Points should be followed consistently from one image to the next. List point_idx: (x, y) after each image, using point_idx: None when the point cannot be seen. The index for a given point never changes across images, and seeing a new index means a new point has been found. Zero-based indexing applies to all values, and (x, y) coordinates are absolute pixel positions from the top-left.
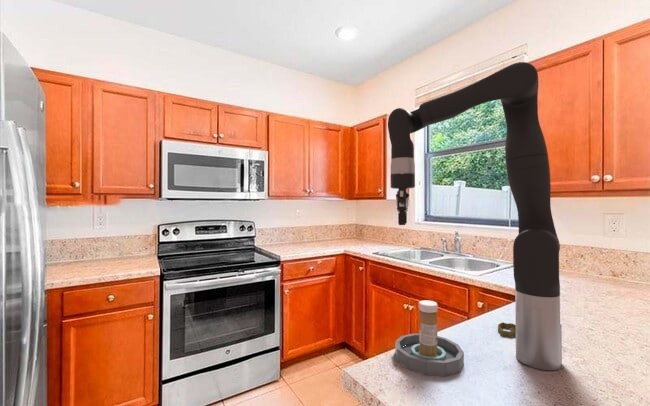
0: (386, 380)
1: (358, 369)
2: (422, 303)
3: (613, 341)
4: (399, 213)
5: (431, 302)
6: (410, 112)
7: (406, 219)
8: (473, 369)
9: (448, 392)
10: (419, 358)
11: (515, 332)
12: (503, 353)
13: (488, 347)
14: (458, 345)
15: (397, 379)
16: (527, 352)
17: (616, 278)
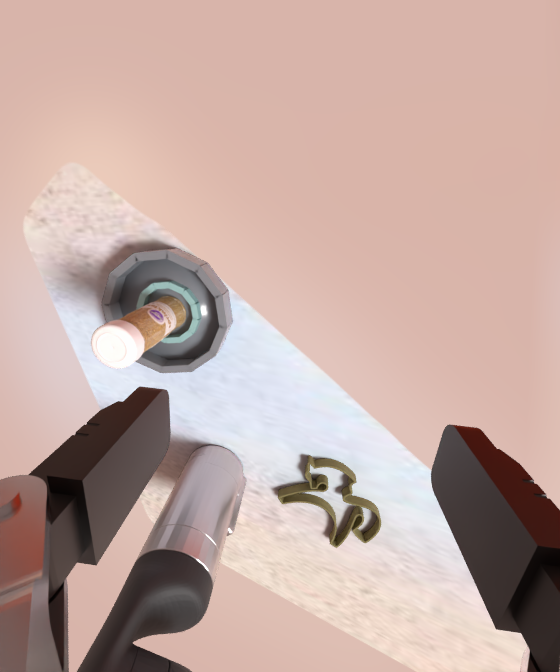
0: (72, 230)
1: (87, 173)
2: (100, 333)
3: (317, 589)
4: (55, 482)
5: (116, 356)
6: None
7: (449, 518)
8: (159, 374)
9: (79, 323)
10: (109, 293)
11: (309, 482)
12: (231, 434)
13: (249, 419)
14: (187, 371)
15: (83, 249)
16: (188, 464)
17: None
